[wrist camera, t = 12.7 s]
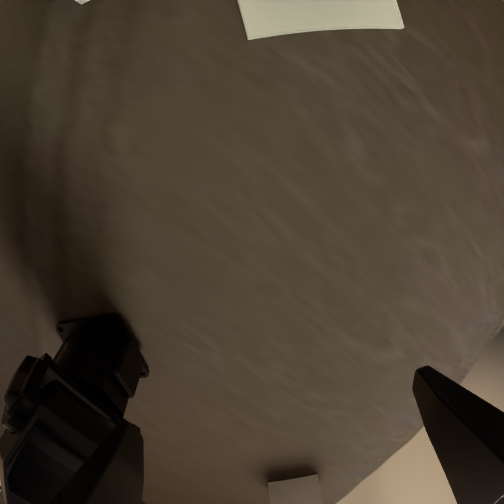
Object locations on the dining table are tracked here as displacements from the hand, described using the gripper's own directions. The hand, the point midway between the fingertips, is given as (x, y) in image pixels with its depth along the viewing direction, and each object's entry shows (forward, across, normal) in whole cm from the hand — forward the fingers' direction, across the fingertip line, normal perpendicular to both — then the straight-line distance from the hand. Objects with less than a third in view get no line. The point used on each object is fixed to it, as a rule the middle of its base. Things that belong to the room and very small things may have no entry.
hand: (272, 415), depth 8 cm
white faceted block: (+13, +2, +36) cm, 38 cm away
